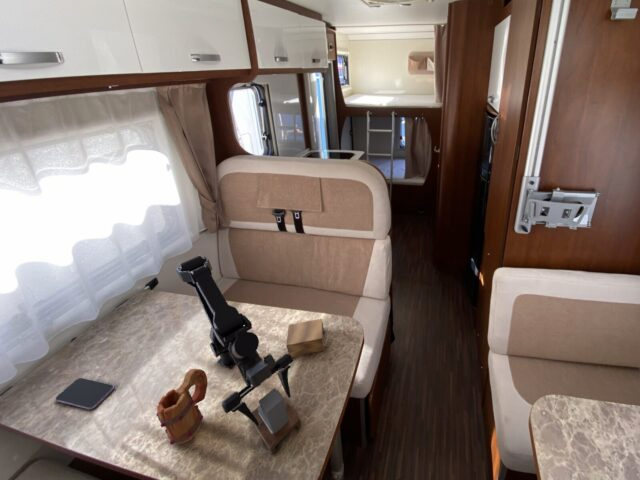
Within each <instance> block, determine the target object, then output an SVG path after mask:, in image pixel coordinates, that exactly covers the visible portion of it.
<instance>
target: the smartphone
mask: <svg viewBox="0 0 640 480" xmlns="http://www.w3.org/2000/svg"><path fill="white" fill-rule="evenodd" d="M114 390H115V385H114V384H110V383H106V382H101V381H97V380H93V379H88V378H84V377H78V378H76V379H75V380H74V381H72V383H70V384H69V385H68V386H67V387H66V388H64V389H63V390H62V391H61V392H60V393H58V395H56V397H55V399H54V400H55V402H58V403H61V404H62V403H63V404H66V405H70V406H74V407H79V408H82V409H85V410H89V411H90V410H94V409H96V408H97V406H99V404H101V403H102V402H103V401H104V400H105V399H106V398H107V397H108V396H109V395H110V394H111V393H112V392H113V391H114Z"/></svg>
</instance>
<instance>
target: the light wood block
mask: <svg viewBox="0 0 640 480" xmlns="http://www.w3.org/2000/svg"><path fill="white" fill-rule="evenodd" d="M287 327H288V328H287V334H286V335H287V337H286V343H285V344H286V345H285V346H286V350H287V354H290V355H291V357H292V358H295V357H299V356H304V355H309V354H310V355H311V354H314V353H319V352H323V351H325V344H324V338H323V337H324V336H323V334H324V333H325V328H324V322H323V318H317V319H311V320H306V321H301V322H296V323H295V322H294V323H290V324H288V326H287Z"/></svg>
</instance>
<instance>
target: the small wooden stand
mask: <svg viewBox="0 0 640 480" xmlns="http://www.w3.org/2000/svg"><path fill="white" fill-rule="evenodd" d="M277 392H278V393H279V394H280V395H281V397H282V398H283V401H284V404H285V407H286V411H287V414H288V418H289V422H287V423H286V424H285V425H284V426H283V427H282V428H281V429H280V430H279V431H278V432H277V433H276V434H275V435H274V434H272V433H271V431H270V430H269V428H268V427H267V425H266V424H265V422H264V421H263V419H262V418H261V416H260V415H259V411H258V409H257V408H258V407H259V406H257V407H256V408H255V409H254V410H252V411H251V412H252V414H253V415H254V416H255V418H256V419H257V421H258V423H259V425H258V426H257V425H256V424H255V423H254V422H252V421H251V423H252V425H253V426H254V428H255V429H256V431H257V433H258V434H259V436H260V438H261V439H262V441H263V442H264V444H265V446H266V447H267V448H268V450H269V452H270V454H271V455H273V454H274V453H275V452H276V451H277V449H276V446H277V445H278V444H279V443H280V442H281V441H282V440H283V439H284V438H285V437H286V436H287V435H288V434H289V433H291V432H292V431H293V430H294V429H295V428H297V429H300V428H301V427H302V421H301V418H300V417H299V416H298V414H297V413H296V412H295V410H294V409H293V408H292V407H291V405H290V404H289V403H288V401H287V399H285V398H284V396H283V395H282V393H281V392H280V391H279V390H277Z"/></svg>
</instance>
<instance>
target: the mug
mask: <svg viewBox="0 0 640 480" xmlns="http://www.w3.org/2000/svg"><path fill="white" fill-rule="evenodd" d="M208 383H209V382H208V376H207V373H206V371H205V370H203V369H201V368H190V369H188V371H187V372H186V374H185V375H184V378H183V380H182V382H181V384H180V386H179V387H178V388H177V389H171V390H169V391H168V392H167V393H166V394H165V395H164V396H162V397H161V398H160V400H159V402H158V405H157V407H156V410H157V412H156V413H155V416H156V417H157V419H158V421H159V423H160V427H161V428H165V430H164V432H165V434H166V436H167V438H168V439H169V445H172V446H173V445H184V444H185V443H187V442H188V441H190V440H192V439H193V437H195V435H196V434H197V433H198V432H199V430H200V428H201V425H202V420H203V419H204V415H203V413H202V411H201V410H200V408H199V405H198V404H199V403H201V402H202V401H204V400H205V399H206V395H207V390H208V385H209V384H208ZM192 387H194V391H193V394H191V393H190V390H191V388H192Z"/></svg>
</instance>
